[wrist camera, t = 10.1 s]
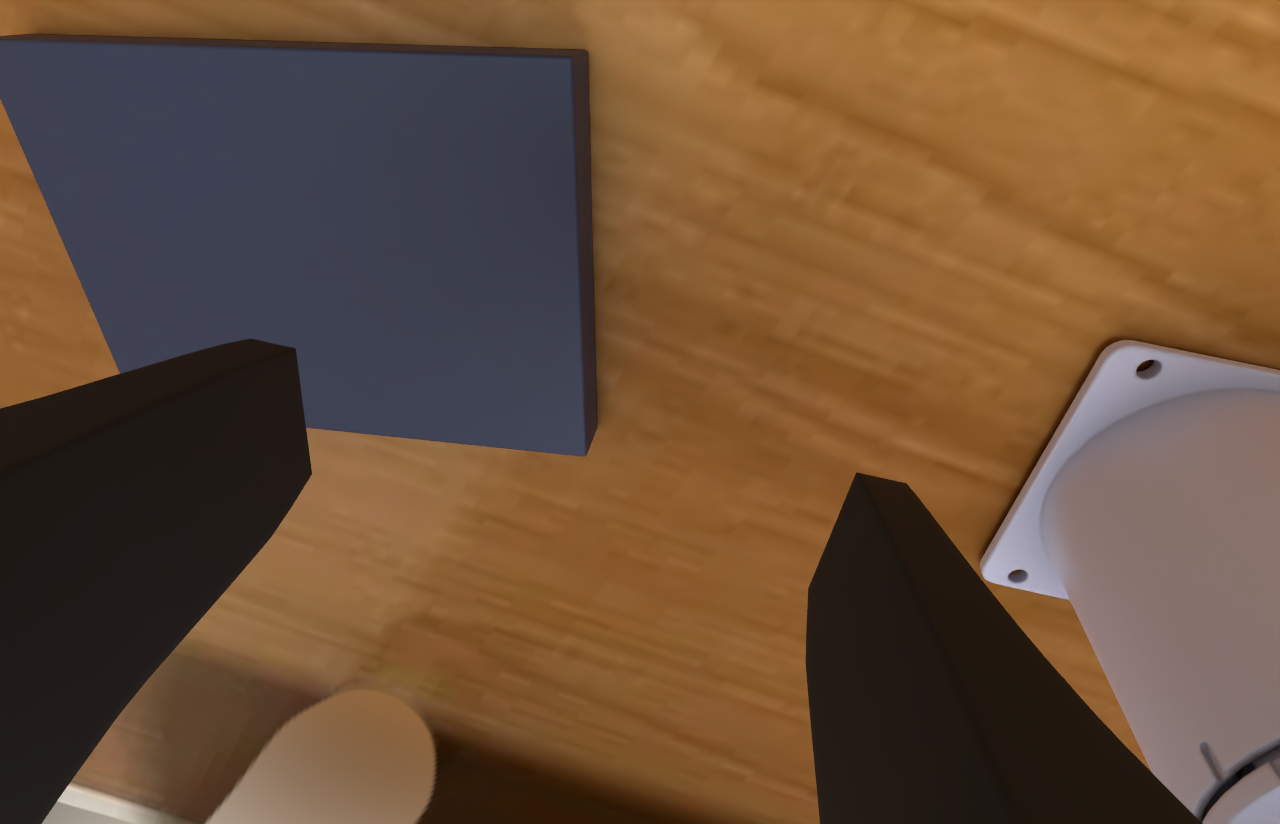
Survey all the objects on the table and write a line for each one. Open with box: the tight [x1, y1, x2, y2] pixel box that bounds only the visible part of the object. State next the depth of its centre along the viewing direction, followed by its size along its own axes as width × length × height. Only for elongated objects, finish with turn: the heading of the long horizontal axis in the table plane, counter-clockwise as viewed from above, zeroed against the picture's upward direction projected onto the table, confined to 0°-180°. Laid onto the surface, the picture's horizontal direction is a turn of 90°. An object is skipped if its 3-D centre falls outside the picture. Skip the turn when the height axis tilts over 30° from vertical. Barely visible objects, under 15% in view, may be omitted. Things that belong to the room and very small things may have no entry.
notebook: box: [0, 34, 597, 456], centre depth 18 cm, size 14×10×2 cm
